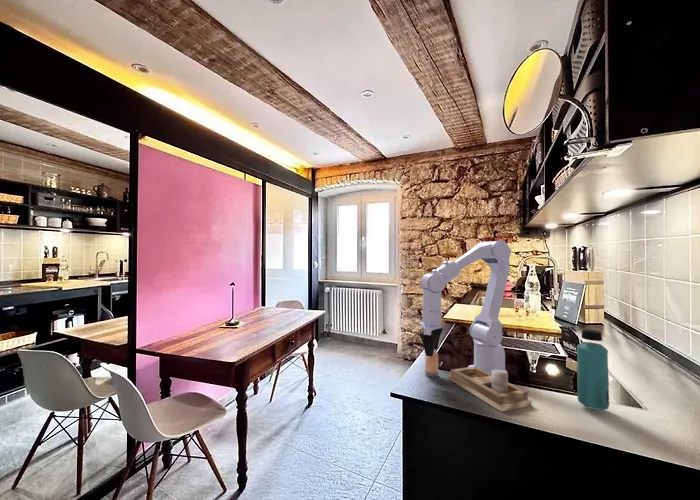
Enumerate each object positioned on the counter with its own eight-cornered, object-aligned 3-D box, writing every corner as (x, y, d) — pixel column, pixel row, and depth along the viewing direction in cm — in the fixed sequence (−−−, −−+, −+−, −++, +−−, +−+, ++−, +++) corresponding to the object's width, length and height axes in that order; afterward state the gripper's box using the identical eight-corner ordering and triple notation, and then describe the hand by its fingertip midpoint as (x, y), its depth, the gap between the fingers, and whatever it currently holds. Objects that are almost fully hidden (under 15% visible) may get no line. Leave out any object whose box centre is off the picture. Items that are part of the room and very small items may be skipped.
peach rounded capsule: (433, 372, 102) (433, 351, 102) (440, 376, 98) (440, 354, 98) (422, 373, 100) (422, 352, 101) (429, 378, 97) (429, 356, 97)
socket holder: (474, 375, 99) (474, 353, 99) (531, 405, 79) (531, 377, 80) (448, 379, 96) (448, 356, 96) (501, 411, 76) (501, 382, 76)
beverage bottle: (612, 419, 73) (611, 335, 73) (577, 411, 76) (577, 331, 77) (607, 407, 78) (606, 329, 79) (575, 401, 82) (574, 326, 82)
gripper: (424, 306, 108) (424, 344, 108) (414, 312, 95) (413, 356, 95) (445, 307, 105) (444, 347, 105) (437, 315, 92) (437, 360, 91)
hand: (431, 352), depth 99 cm, fingers open, 7 cm apart
